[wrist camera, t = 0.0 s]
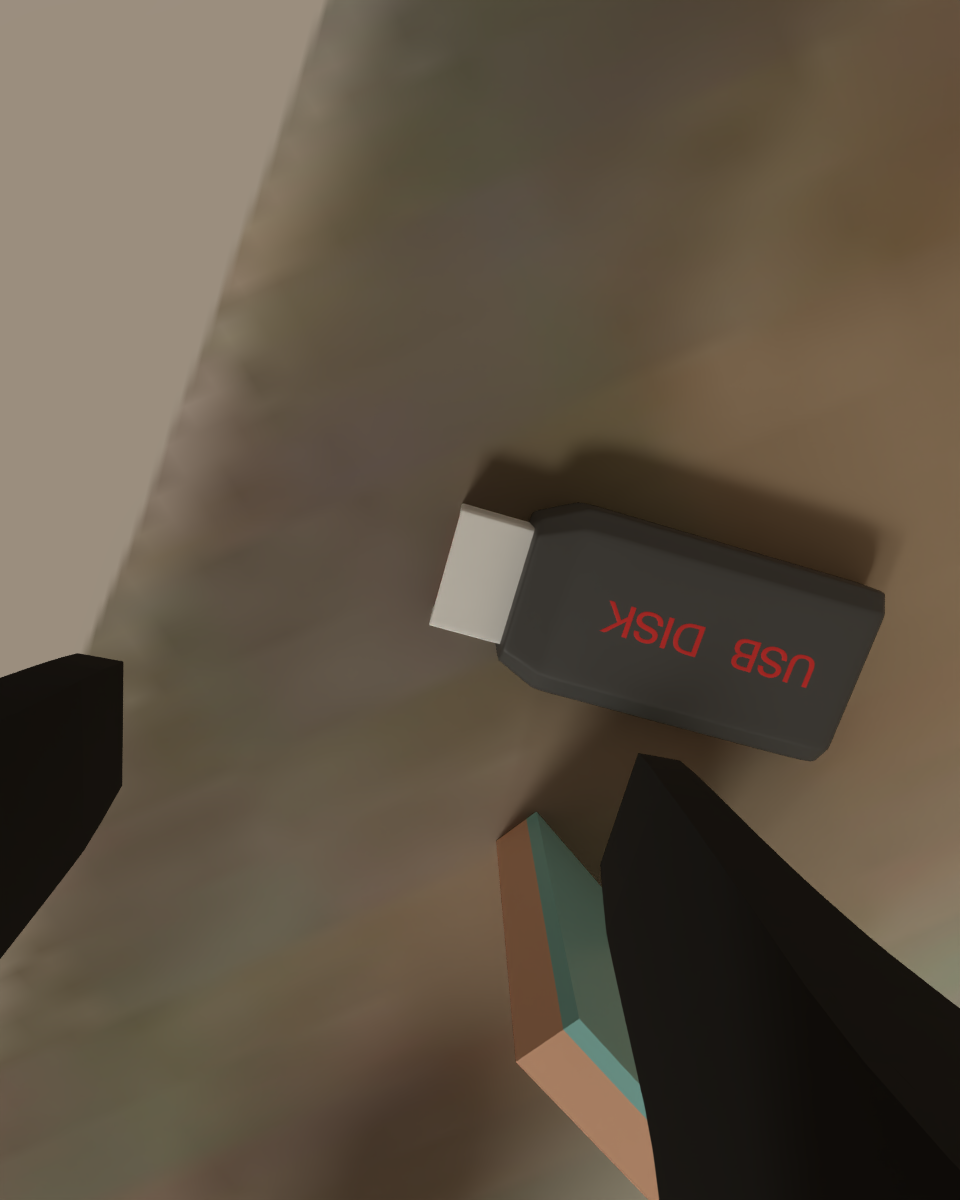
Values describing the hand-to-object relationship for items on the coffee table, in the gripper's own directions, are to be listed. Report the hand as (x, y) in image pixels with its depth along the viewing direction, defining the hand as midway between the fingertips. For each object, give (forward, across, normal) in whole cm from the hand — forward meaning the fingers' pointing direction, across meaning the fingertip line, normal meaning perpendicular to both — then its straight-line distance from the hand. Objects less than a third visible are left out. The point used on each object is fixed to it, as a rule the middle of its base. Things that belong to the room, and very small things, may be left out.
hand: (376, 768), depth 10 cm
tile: (+5, -6, +9) cm, 13 cm away
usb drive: (+11, -6, +1) cm, 13 cm away
